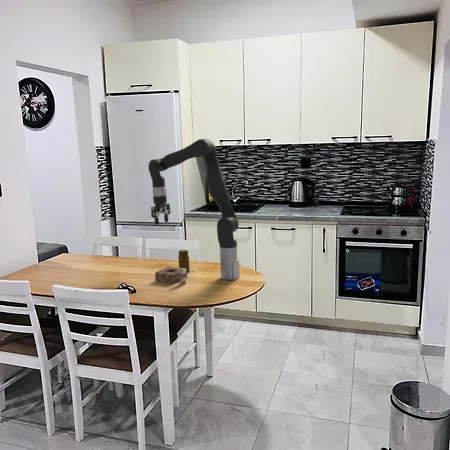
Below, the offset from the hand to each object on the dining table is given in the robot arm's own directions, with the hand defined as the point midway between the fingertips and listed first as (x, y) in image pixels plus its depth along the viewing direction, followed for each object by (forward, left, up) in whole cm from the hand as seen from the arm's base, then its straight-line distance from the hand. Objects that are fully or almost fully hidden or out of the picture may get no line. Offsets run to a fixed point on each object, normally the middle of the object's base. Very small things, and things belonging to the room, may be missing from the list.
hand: (161, 223), depth 244 cm
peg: (-25, +17, -28) cm, 41 cm away
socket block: (-15, +14, -28) cm, 34 cm away
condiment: (-13, -2, -28) cm, 31 cm away
